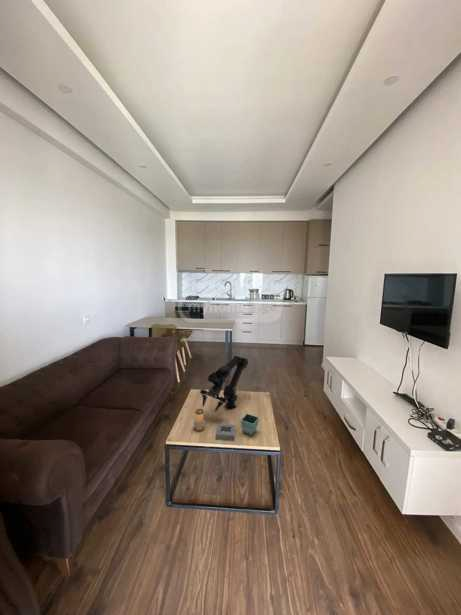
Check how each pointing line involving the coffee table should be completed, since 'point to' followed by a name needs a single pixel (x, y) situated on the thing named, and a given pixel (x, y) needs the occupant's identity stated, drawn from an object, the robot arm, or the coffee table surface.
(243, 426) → the flower pot
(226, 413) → the coffee table surface
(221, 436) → the socket
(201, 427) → the plug
